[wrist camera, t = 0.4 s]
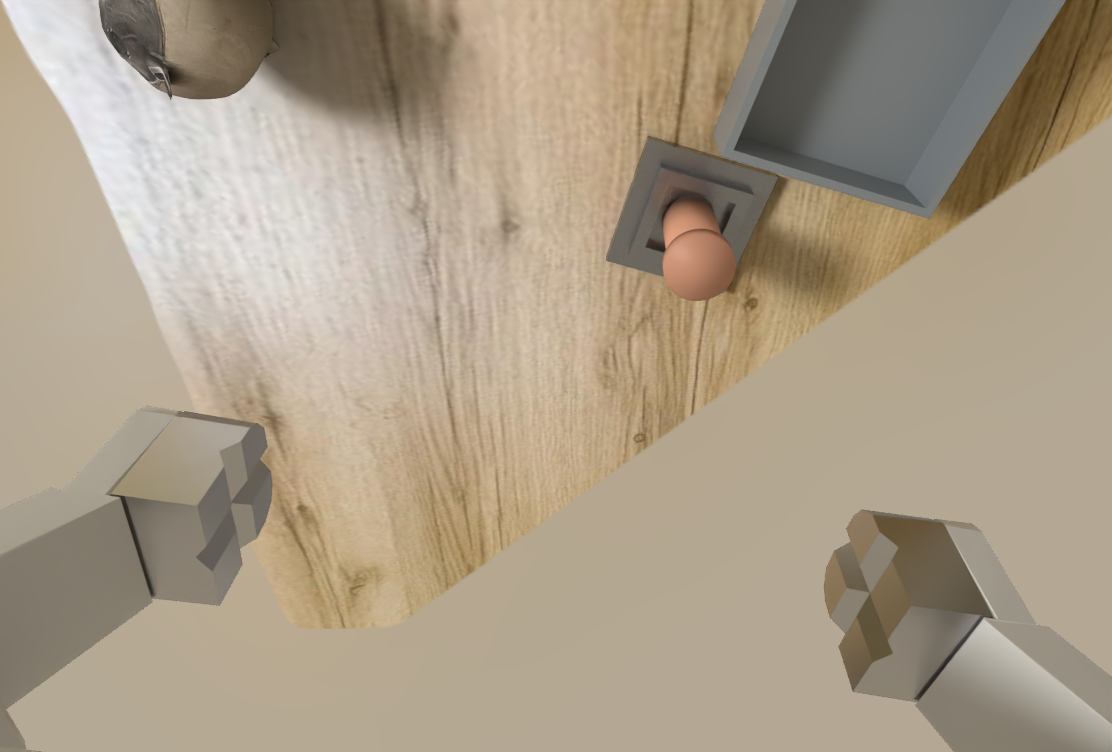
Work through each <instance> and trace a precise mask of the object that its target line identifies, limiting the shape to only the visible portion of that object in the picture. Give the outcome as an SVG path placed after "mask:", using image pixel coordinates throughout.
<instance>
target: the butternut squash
mask: <svg viewBox="0 0 1112 752" xmlns="http://www.w3.org/2000/svg"><path fill="white" fill-rule="evenodd" d="M662 227H663V233H664V240H665V247H666V250H665V252H664V255H663V262H662V265H663V273H664V278H665V281H666V284H667V285H668V287H669V288H670V290H671V291H672V292H673V293H675V294H676V295H677V296H679V297H681V298H684V299H687V300H692V301H701V300H707V299H710V298H713V297H715V296H717V295H719V294H720V293H722V292H723V291H724V290H725V289H726V288H727V287H728V286H729V285H730V283H731V282H732V280H733V278H734V275H735V272H736V260H735V256H734V253H733V250H732V247H731V245H730V243H729V242H728V241H727V239H726V238H725V237H724V236H722V235H721V232H720V229H719V226H718V223H717V220H716V217H715V213H714V211H713V208H712V207H711V205H710V204H709V203H708V202H707V201H706V200H704V199H702V198H700V197H696V196H685V197H681V198H679V199H677V200H675V201H674V202H672V203H671V204H670V205H669V206H668V207H667V209H666V210H665V212H664V215H663V219H662Z"/></svg>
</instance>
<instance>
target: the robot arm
mask: <svg viewBox="0 0 1112 752" xmlns="http://www.w3.org/2000/svg"><path fill="white" fill-rule="evenodd" d="M267 447H268V446H267V440H266V435H265V430H264V427H262V426H261V425H259V424H258V423H252V422H246V421H240V420H234V419H228V418H222V417H216V416H210V415H204V414H198V413H192V412H186V411H185V412H181V411H175V410H169V409H164V408H158V407H152V406H146V407H143V408H140V409H138V410H136V411H135V412H134V413H133V414H132V415H131V416H130V417H129V418H128V419H127V420H126V422H124V424H123V425H122V426H121V427H120V428H119V429H118V430H117V431H116V432H115V433H114V434H113V436H112V437H111V438H110V439H109V440H108V441H107V442H106V443H105V444H104V445H103V446H102V448H101V449H100V450H99V451H98V452H97V453H96V454H95V455H94V456H93V457H92V458H91V459H90V461H89V462H88V463H87V464H86V465H85V466H84V467H83V468H82V469H81V470H80V471H79V472H78V474H77V475H76V476H75V477H74V478H73V479H72V480H71V481H70V482H69V483H68V484H67V485H66V487H65V488H64V489H57V488H49V489H47V490H44V491H42V492H40V493H38V494H35V495H33V496H31V497H29V498H26V499H24V500H22V501H19V502H17V503H15V504H12V505H10V506H8V507H6V508H3V509H1V510H0V752H40V751H32V750H26V745H25V741H24V738H23V737H22V735H21V733H20V732H19V730H18V728H17V727H16V725H15V723H14V722H13V720H12V718H11V717H10V715H9V713H8V712H7V710H6V709H7V708H8V707H10V706H11V705H12V704H14V703H15V702H17V701H18V700H19V699H21V698H22V697H24V696H25V695H26V694H27V693H29V692H30V691H32V690H33V689H34V688H36V687H37V686H39V685H40V684H41V683H43V682H44V681H45V680H47V679H48V678H50V677H51V676H52V675H54V674H55V673H56V672H58V671H59V670H60V669H62V668H63V667H65V666H66V665H67V664H69V663H70V662H71V661H73V660H74V659H75V658H77V657H78V656H80V655H81V654H82V653H84V652H85V651H86V650H88V649H89V648H91V647H92V646H93V645H95V644H96V643H97V642H99V641H100V640H101V639H103V638H104V637H106V636H107V635H108V634H110V633H111V632H112V631H114V630H115V629H116V628H118V627H119V626H120V625H122V624H123V623H125V622H126V621H127V620H129V619H130V618H132V617H133V616H134V615H136V614H137V613H138V612H140V611H141V610H142V609H144V608H145V607H147V606H148V605H149V604H151V603H152V598H154V599H164V600H172V601H182V602H191V603H200V604H209V605H219V606H220V604H221V603H222V601H223V599H224V597H225V595H226V593H227V592H228V590H229V588H230V586H231V584H232V583H233V581H234V579H235V577H236V575H237V574H238V572H239V570H240V568H241V566H242V558H241V553H240V548H241V547H243V546H245V545H246V544H248V543H250V542H251V541H253V540H255V539H256V538H257V537H258V535H259V533H260V531H261V529H262V527H263V525H264V523H265V521H266V518H267V515H268V511H269V508H270V504H271V500H272V485H273V484H272V476H271V471H270V470H269V469H268V467H267V466H266V465H265V464H264V463H263V462H262V461H261V460H260V458H261V457H262V455H263V453H264V452H265V450H266V448H267ZM846 529H847V532H848V535H849V538H850V541H851V542H849V543H847V544H845V545H844V546H842V547H840V548H838V549H837V550H835V551H834V552H833V555H832V557H831V559H830V561H829V563H828V565H827V567H826V574H825V581H824V594H825V602H826V606H827V609H828V613H829V616H830V618H831V619H832V620H833V621H834V622H835V623H836V624H837V625H838V626H839V627H840V628H841V629H842V631H844V633H845V635H844V637H843V639H842V641H841V643H840V645H839V649H840V652H841V656H842V659H843V662H844V665H845V668H846V671H847V675H848V678H849V681H850V684H851V688H852V691H853V692H857V693H863V694H869V695H876V696H881V697H888V698H894V699H900V700H906V701H912V702H917V704H916V707H917V708H918V709H919V710H920V711H921V713H922V714H923V715H924V716H925V717H926V719H927V720H928V721H929V722H930V723H931V725H932V726H933V727H934V728H935V730H936V731H937V732H938V733H939V734H940V736H941V737H942V738H943V739H944V741H945V742H946V743H947V744H948V745H949V747H950V748H951V749H952V750H953V751H954V752H1112V676H1110V675H1109V674H1108V673H1107V672H1105V671H1104V670H1103V669H1101V668H1100V667H1099V666H1098V665H1096V664H1095V663H1094V662H1093V661H1091V660H1090V659H1089V658H1087V657H1086V656H1085V655H1084V654H1083V653H1081V652H1080V651H1079V650H1077V649H1076V648H1075V647H1074V646H1072V645H1071V644H1070V643H1069V642H1067V641H1066V640H1065V639H1064V638H1062V637H1061V636H1060V635H1059V634H1057V633H1056V632H1055V631H1053V630H1052V629H1051V628H1050V627H1046V626H1040V625H1037V624H1036V622H1035V621H1034V619H1033V617H1032V616H1031V614H1030V612H1029V611H1028V609H1027V607H1026V606H1025V604H1024V602H1023V600H1022V599H1021V597H1020V595H1019V594H1018V592H1017V590H1016V589H1015V587H1014V585H1013V583H1012V582H1011V580H1010V578H1009V577H1008V575H1007V574H1006V572H1005V570H1004V568H1003V567H1002V565H1001V563H1000V562H999V560H998V558H997V556H996V555H995V553H994V551H993V550H992V548H991V546H990V545H989V543H988V541H987V539H986V538H985V536H984V534H983V533H982V531H981V530H980V529H978V528H977V527H976V526H975V525H973V524H971V523H963V522H955V521H947V520H939V519H934V520H932V519H927V518H921V517H913V516H905V515H897V514H891V513H883V512H876V511H869V510H860V511H859V512H858V513H857V514H855V515H854V516H853V518H852V519H851V521H850V523H849V525H848V526H847V528H846Z"/></svg>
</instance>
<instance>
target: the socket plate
mask: <svg viewBox="0 0 1112 752" xmlns="http://www.w3.org/2000/svg"><path fill="white" fill-rule="evenodd" d="M777 179H778V177H777V175H776V174H774V173H770V172H767V171H764V170H760V169H757V168H754V167H750V166H747V165H744V164H740V163H737V162H734V161H730V160H727V159H724V158H720V157H717V156H714V155H710V154H707V153H704V152H700V151H697V150H694V149H690V148H687V147H684V146H680V145H677V144H674V143H670V142H667V141H664V140H660V139H657V138H654V137H650V136H648V137H647V140H646V143H645V146H644V149H643V152H642V155H641V158H640V161H639V163H638V166H637V169H636V172H635V175H634V178H633V181H632V184H631V186H630V189H629V192H628V195H627V198H626V201H625V204H624V207H623V210H622V212H621V215H620V218H619V221H618V224H617V227H616V230H615V233H614V235H613V238H612V241H611V244H610V247H609V250H608V253H607V256H606V261H610V262H613V263H617V264H620V265H624V266H627V267H631V268H635V269H638V270H642V271H645V272H649V273H652V274H656V275H660V276H663V277H664V273H663V265H662V262H663V255H664V252H665V250H666V247H665V240H664V233H663V227H662V219H663V215H664V212H665V210H666V209H667V207H668V206H669V205H670V204H671V203H672V202H674V201H675V200H677V199H679V198H681V197H685V196H696V197H700V198H702V199H704V200H706V201H707V202H708V203H709V204H710V205H711V207H712V208H713V211H714V213H715V217H716V220H717V223H718V226H719V229H720V232H721V235H722V236H724V237H725V238H726V239H727V241H728V242H729V243H730V245H731V247H732V250H733V253H734V256H735V260H736V266H737V264H738V262H739V260H740V258H741V256H742V253H743V251H744V249H745V247H746V245H747V243H748V241H749V239H750V236H751V234H752V232H753V230H754V228H755V226H756V224H757V222H758V220H759V217H760V215H761V213H762V211H763V209H764V207H765V205H766V203H767V200H768V198H769V196H770V194H771V192H772V190H773V188H774V186H775V184H776V181H777ZM724 292H725V290H724V291H723V292H722V293H724Z"/></svg>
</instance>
